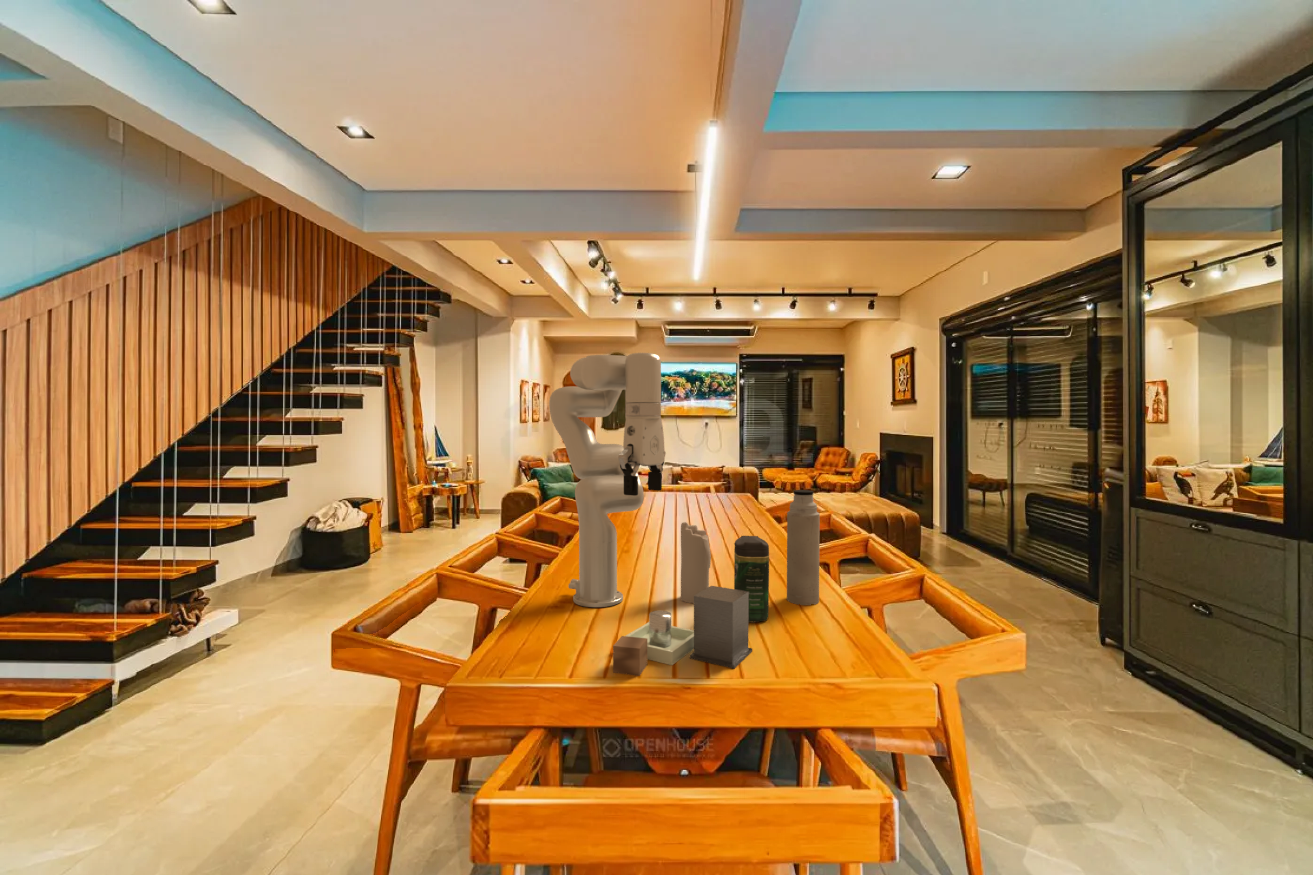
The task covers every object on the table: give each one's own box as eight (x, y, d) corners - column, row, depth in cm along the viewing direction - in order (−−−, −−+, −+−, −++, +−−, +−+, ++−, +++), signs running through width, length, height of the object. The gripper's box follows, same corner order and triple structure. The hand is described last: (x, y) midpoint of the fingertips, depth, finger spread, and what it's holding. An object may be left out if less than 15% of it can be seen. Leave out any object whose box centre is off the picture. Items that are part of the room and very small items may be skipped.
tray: (618, 652, 114) (618, 639, 113) (649, 633, 124) (649, 621, 124) (672, 665, 108) (672, 651, 107) (700, 643, 118) (700, 631, 118)
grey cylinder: (645, 645, 115) (645, 615, 115) (656, 637, 119) (656, 609, 118) (664, 650, 113) (663, 619, 112) (675, 642, 116) (675, 613, 116)
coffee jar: (771, 623, 130) (772, 541, 129) (736, 623, 130) (736, 541, 129) (765, 609, 139) (765, 533, 139) (732, 609, 140) (732, 533, 139)
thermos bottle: (792, 593, 152) (793, 487, 151) (823, 598, 148) (823, 489, 147) (782, 601, 145) (782, 491, 145) (813, 607, 141) (814, 493, 140)
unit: (689, 658, 111) (689, 596, 110) (709, 642, 119) (709, 584, 118) (734, 668, 106) (734, 603, 106) (752, 651, 114) (752, 591, 114)
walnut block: (613, 673, 104) (613, 645, 104) (621, 662, 109) (621, 635, 109) (639, 676, 103) (639, 648, 103) (647, 664, 108) (647, 638, 108)
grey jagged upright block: (732, 607, 141) (732, 525, 141) (677, 602, 145) (677, 522, 145) (736, 598, 148) (737, 520, 148) (684, 593, 152) (684, 518, 152)
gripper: (636, 411, 113) (636, 498, 113) (678, 412, 128) (677, 489, 128) (605, 411, 117) (605, 496, 117) (648, 412, 132) (649, 487, 132)
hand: (643, 492), depth 123 cm, fingers open, 9 cm apart
